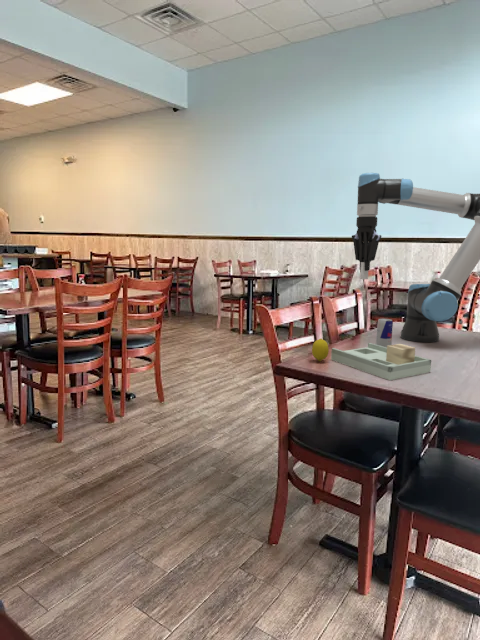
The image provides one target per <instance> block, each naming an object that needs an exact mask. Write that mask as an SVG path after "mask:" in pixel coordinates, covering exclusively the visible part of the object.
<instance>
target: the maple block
mask: <svg viewBox="0 0 480 640" xmlns="http://www.w3.org/2000/svg"><path fill="white" fill-rule="evenodd" d="M415 356H416V347H414V346H410V345H407V344H403V343H396V344H391V345H388V346H387V355H386V361H388V362H391V363H395V364H398V365H399V364H405V363H410V362H414V359H415Z"/></svg>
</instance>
